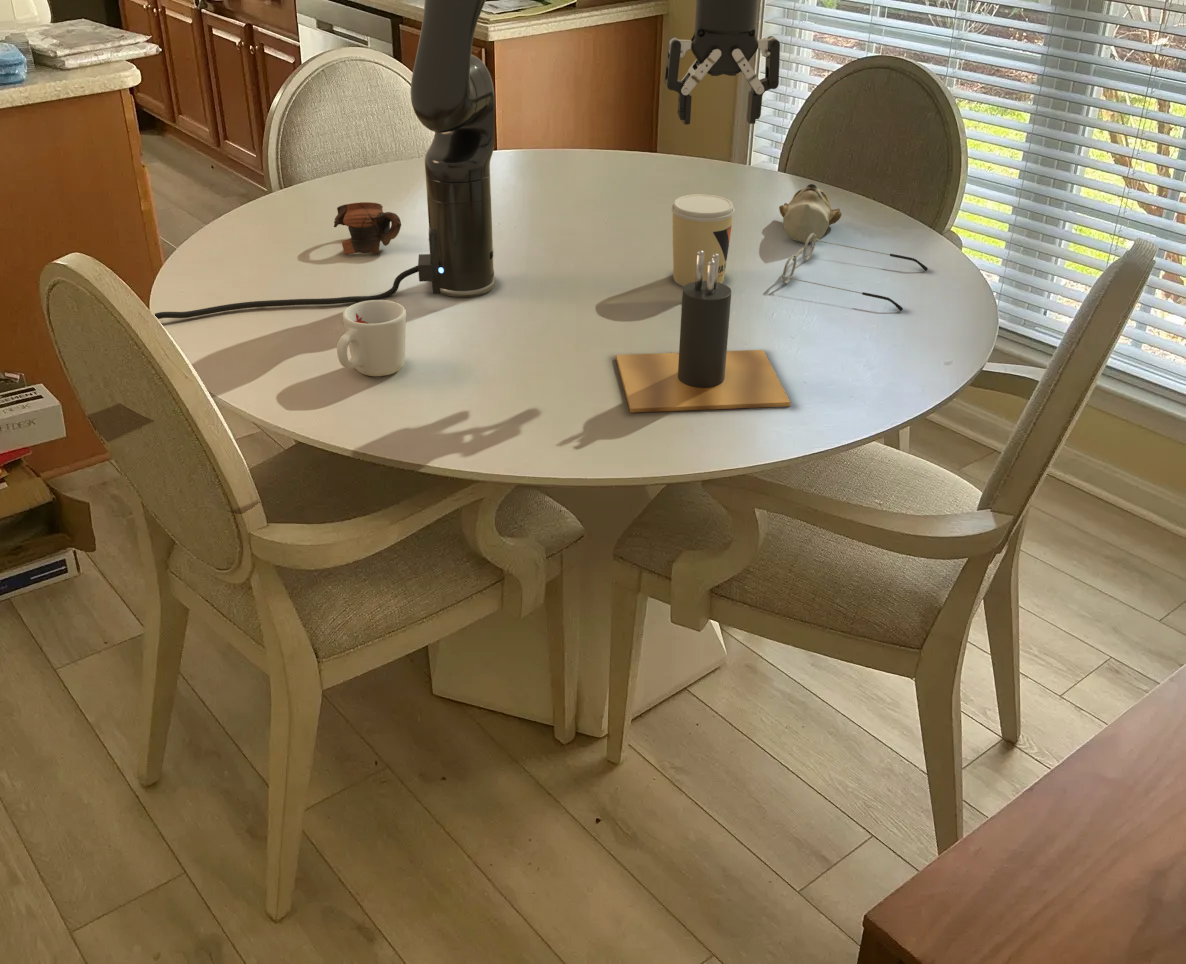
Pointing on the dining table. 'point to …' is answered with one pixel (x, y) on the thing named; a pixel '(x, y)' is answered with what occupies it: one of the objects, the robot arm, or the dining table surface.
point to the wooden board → (661, 390)
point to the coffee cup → (700, 234)
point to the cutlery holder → (704, 327)
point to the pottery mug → (367, 226)
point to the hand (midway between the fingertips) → (718, 122)
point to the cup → (373, 337)
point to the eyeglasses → (835, 287)
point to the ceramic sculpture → (808, 214)
